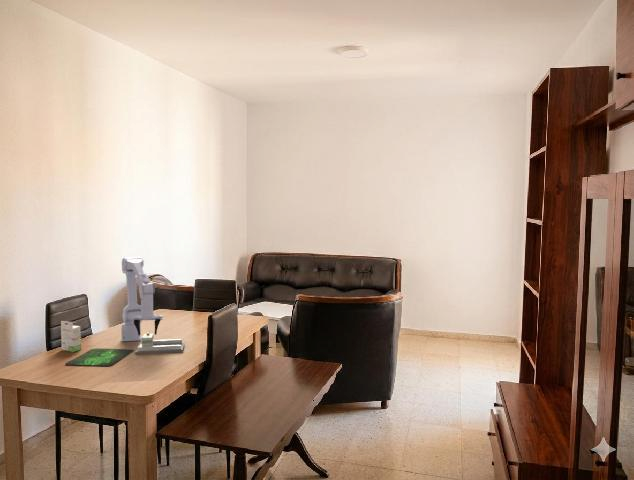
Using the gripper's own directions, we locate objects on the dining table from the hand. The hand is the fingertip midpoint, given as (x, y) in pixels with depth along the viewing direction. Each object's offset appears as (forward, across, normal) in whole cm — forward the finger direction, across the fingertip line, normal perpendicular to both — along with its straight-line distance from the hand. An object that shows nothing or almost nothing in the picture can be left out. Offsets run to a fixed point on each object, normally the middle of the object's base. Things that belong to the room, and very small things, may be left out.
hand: (147, 334), depth 254 cm
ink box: (+8, -37, +7) cm, 38 cm away
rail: (+7, +6, 0) cm, 9 cm away
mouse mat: (+8, -20, -8) cm, 23 cm away
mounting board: (+8, +6, 0) cm, 10 cm away
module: (+7, 0, 0) cm, 7 cm away
